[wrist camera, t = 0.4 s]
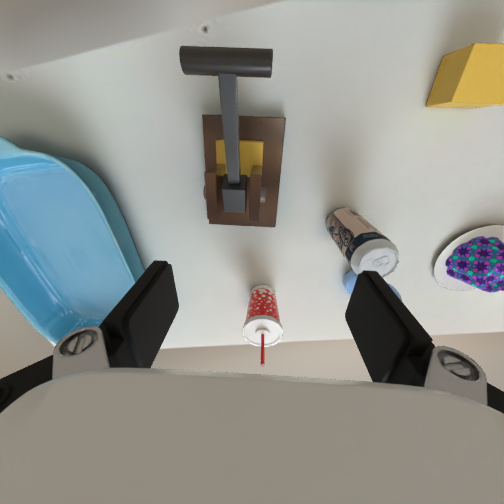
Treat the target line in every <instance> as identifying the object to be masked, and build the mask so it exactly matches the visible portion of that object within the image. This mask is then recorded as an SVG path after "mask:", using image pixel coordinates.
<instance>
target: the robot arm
mask: <svg viewBox="0 0 504 504" xmlns="http://www.w3.org/2000/svg"><path fill="white" fill-rule="evenodd" d="M178 308H179V303H178V298H177V292H176V287H175V282H174V276H173V271H172V266H171V264H168V262H167V261H154V262H153V263H152V264H151V265H150V266H149V267H148V268H147V270H146V271H145V272H144V273H143V274H142V275H141V277H140V278H139V279H138V280H137V281H136V282H135V284H134V285H133V286H132V287H131V288H130V290H129V291H128V292H127V293H126V294H125V295H124V297H123V298H122V299H121V300H120V301H119V302H118V304H117V305H116V306H115V307H114V308H113V309H112V311H111V312H110V313H109V314H108V315H107V317H106V318H105V319H104V320H103V322H102V323H101V324H100V325H99V327H95V326H87V327H82V328H79V329H77V330H74V331H72V332H70V333H69V334H67V335H66V336H64V337H63V338H62V339H61V340H60V341H59V342H58V343H57V345H56V346H55V348H54V352H53V355H52V356H49V357H47V358H45V359H43V360H41V361H38V362H36V363H34V364H32V365H30V366H28V367H25V368H23V369H21V370H19V371H17V372H15V373H12V374H10V375H8V376H6V377H4V378H2V379H0V504H504V392H503V391H501V390H499V389H498V388H496V387H494V386H492V385H490V384H489V383H487V379H486V375H485V373H484V371H483V370H482V368H481V367H480V366H479V365H478V364H477V363H476V362H475V361H474V360H473V359H471V358H470V357H468V356H467V355H465V354H464V353H462V352H460V351H458V350H456V349H453V348H450V347H445V346H438V347H435V346H434V344H433V343H432V338H431V337H430V336H429V335H428V333H427V332H426V331H425V330H424V328H423V327H422V326H421V325H420V323H419V322H418V321H417V320H416V319H415V317H414V316H413V315H412V314H411V312H410V311H409V310H408V309H407V307H406V306H405V305H404V304H403V303H402V301H401V300H400V299H399V298H398V296H397V295H396V294H395V293H394V291H393V290H392V289H391V288H390V286H389V285H388V284H387V283H386V282H385V280H384V279H383V278H382V277H381V275H380V274H379V273H378V272H377V271H367V270H364V271H362V273H359V274H358V276H357V279H356V282H355V285H354V288H353V291H352V295H351V298H350V301H349V304H348V307H347V310H346V313H345V318H346V321H347V324H348V326H349V328H350V331H351V333H352V335H353V337H354V340H355V342H356V344H357V347H358V349H359V351H360V353H361V356H362V358H363V360H364V363H365V365H366V367H367V369H368V372H369V374H370V376H371V379H372V381H373V382H365V381H351V380H336V379H320V378H307V377H292V376H291V377H290V376H276V375H260V374H243V373H228V372H210V371H191V370H176V369H151V365H152V363H153V361H154V359H155V357H156V355H157V353H158V351H159V349H160V347H161V345H162V343H163V341H164V339H165V336H166V334H167V332H168V330H169V328H170V326H171V324H172V322H173V320H174V318H175V316H176V314H177V312H178Z"/></svg>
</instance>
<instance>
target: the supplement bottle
mask: <svg viewBox="0 0 504 504" xmlns="http://www.w3.org/2000/svg"><path fill="white" fill-rule="evenodd" d="M326 228H327V230H328V232H329V234H330V235H331V237H332V238H333V240H334V241H335V243H336V245H337V246H338V248H339V249H340V251H341V252H342V254H343V255H344V257H345V258H346V260H347V261H348V263H349V265H350V266H351V268H352V269H353V271H354V272H355V273H356V274H359V273H362V271H364V270H367V271H377V272H378V273H379V274H380V275H381V277H382V278H384V277H385V276H387V275H389V274H390V273H392V272H394V270H395V268H396V266H397V264H398V262H399V260H398V250H397V247H396V246H395V244H393V243H392V242H391V241H390V240H389V239H388V238H386V237H385V236H384V235H383V234H382V233H381V232H379V231H378V230H377V229H376V228H375V227H374V226H372V225H371V224H370V223H369V222H368V221H366V220H365V219H364V218H363V217H362V216H361V215H359V214H358V213H357V212H356V211H355V210H353V209H351V208H340V209H337V210H336V211H334V212H333V213H332V214H331V215H330V216H329V218H328V220H327V223H326Z"/></svg>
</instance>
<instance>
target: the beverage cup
mask: <svg viewBox="0 0 504 504" xmlns="http://www.w3.org/2000/svg"><path fill="white" fill-rule="evenodd" d="M242 332H243V337H244V338H245V339H246V341H247V342H249V343H250V344H252V345H255V346H259V347H261V366H264V347H268V346H272V345H275V344H276V343H278V342H279V341H280V340H281V338H282V336H283V329H282V325H281V323H280V320H279V314H278V308H277V302H276V296H275V291H274V290H273V288H271V287H270V286H268V285H258V286H255V287H254V288H253V289H252V291H251V294H250V300H249V306H248V311H247V317H246V322H245V324H244V326H243V331H242Z"/></svg>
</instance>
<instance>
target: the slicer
mask: <svg viewBox="0 0 504 504" xmlns="http://www.w3.org/2000/svg"><path fill="white" fill-rule="evenodd" d="M202 119H203V134H204V150H205V166H206V172H205V186H204V198H205V199H206V202H207V217H208V219H209V224H222V225H241V226H260V227H275V225H276V214H277V204H278V194H279V183H280V173H281V162H282V152H283V142H284V131H285V121H286V118H277V117H253V116H239V139H240V140H249V141H263V158H262V166H255V165H254V166H253V168H252V171H251V174H250V177H247V204H246V212H245V213H243V212H225V211H224V207H223V199H222V191H221V189H222V184H223V180H224V175H225V174H226V164H217V159H216V141H217V140H223V139H224V132H223V121H222V115H202Z"/></svg>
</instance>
